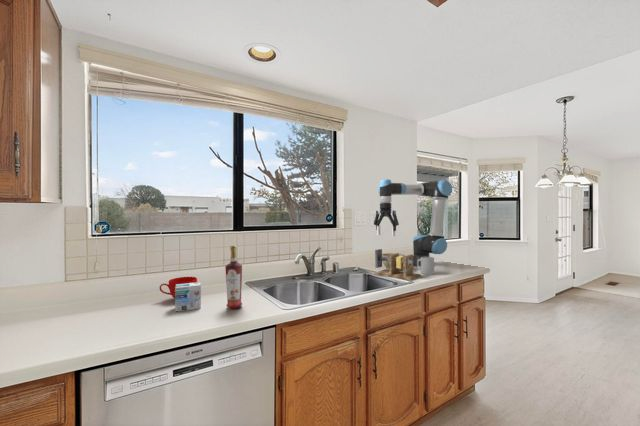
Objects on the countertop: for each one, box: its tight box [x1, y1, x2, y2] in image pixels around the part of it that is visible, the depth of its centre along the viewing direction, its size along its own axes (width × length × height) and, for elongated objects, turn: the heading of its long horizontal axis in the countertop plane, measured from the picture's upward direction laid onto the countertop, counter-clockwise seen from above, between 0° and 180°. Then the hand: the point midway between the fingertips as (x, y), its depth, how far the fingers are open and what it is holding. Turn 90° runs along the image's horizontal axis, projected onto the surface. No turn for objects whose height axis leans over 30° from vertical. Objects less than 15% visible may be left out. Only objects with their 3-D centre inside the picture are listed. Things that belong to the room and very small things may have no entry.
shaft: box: [374, 248, 413, 269], centre depth 197 cm, size 25×6×12 cm, turn 47°
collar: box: [396, 256, 403, 270], centre depth 193 cm, size 3×7×7 cm, turn 137°
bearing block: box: [373, 252, 422, 281], centre depth 195 cm, size 26×14×14 cm, turn 47°
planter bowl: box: [382, 252, 406, 271], centre depth 215 cm, size 16×16×11 cm
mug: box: [416, 256, 435, 276], centre depth 201 cm, size 12×8×11 cm
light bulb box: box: [174, 281, 202, 313], centre depth 135 cm, size 11×7×11 cm, turn 114°
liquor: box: [225, 244, 243, 310], centre depth 135 cm, size 7×7×28 cm
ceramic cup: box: [159, 276, 198, 300], centre depth 148 cm, size 13×17×10 cm
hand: (386, 235), depth 200 cm, fingers open, 10 cm apart
